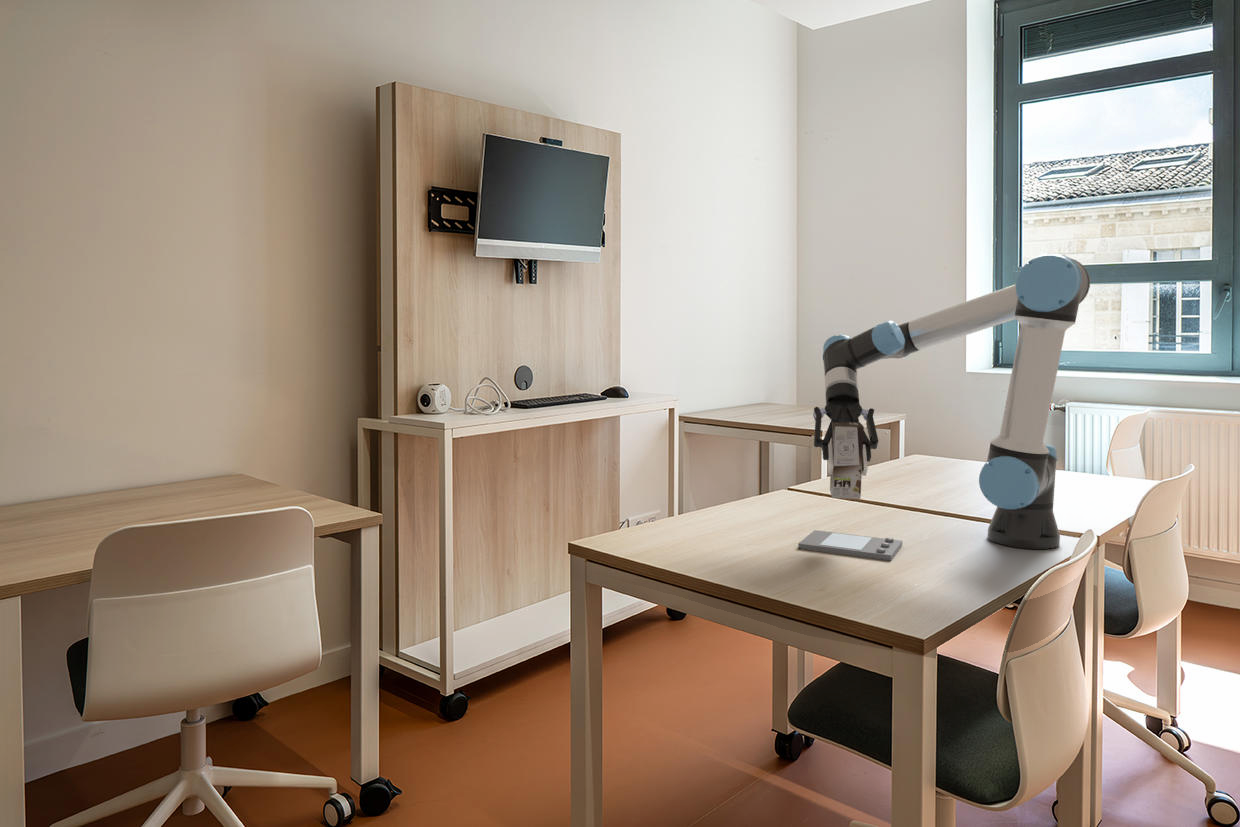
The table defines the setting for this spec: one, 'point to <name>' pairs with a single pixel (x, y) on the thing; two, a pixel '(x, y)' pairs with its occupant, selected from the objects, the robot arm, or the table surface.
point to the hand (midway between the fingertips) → (847, 471)
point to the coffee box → (846, 460)
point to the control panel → (851, 544)
